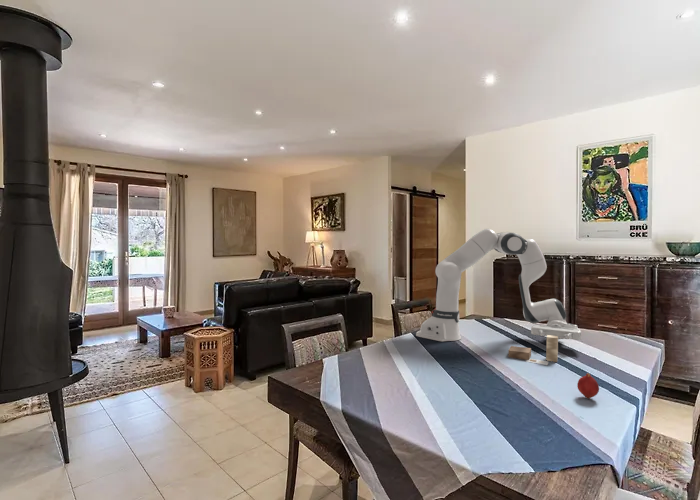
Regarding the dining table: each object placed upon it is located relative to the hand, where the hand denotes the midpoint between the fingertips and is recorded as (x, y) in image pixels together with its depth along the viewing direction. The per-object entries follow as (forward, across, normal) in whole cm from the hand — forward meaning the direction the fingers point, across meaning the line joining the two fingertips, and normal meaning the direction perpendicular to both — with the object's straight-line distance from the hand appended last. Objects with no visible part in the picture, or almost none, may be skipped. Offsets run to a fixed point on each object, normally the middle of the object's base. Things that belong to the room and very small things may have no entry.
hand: (554, 335), depth 166 cm
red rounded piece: (+49, +12, +8) cm, 51 cm away
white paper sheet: (+18, -6, +8) cm, 21 cm away
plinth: (+14, -12, +7) cm, 20 cm away
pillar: (+12, 0, +8) cm, 15 cm away
